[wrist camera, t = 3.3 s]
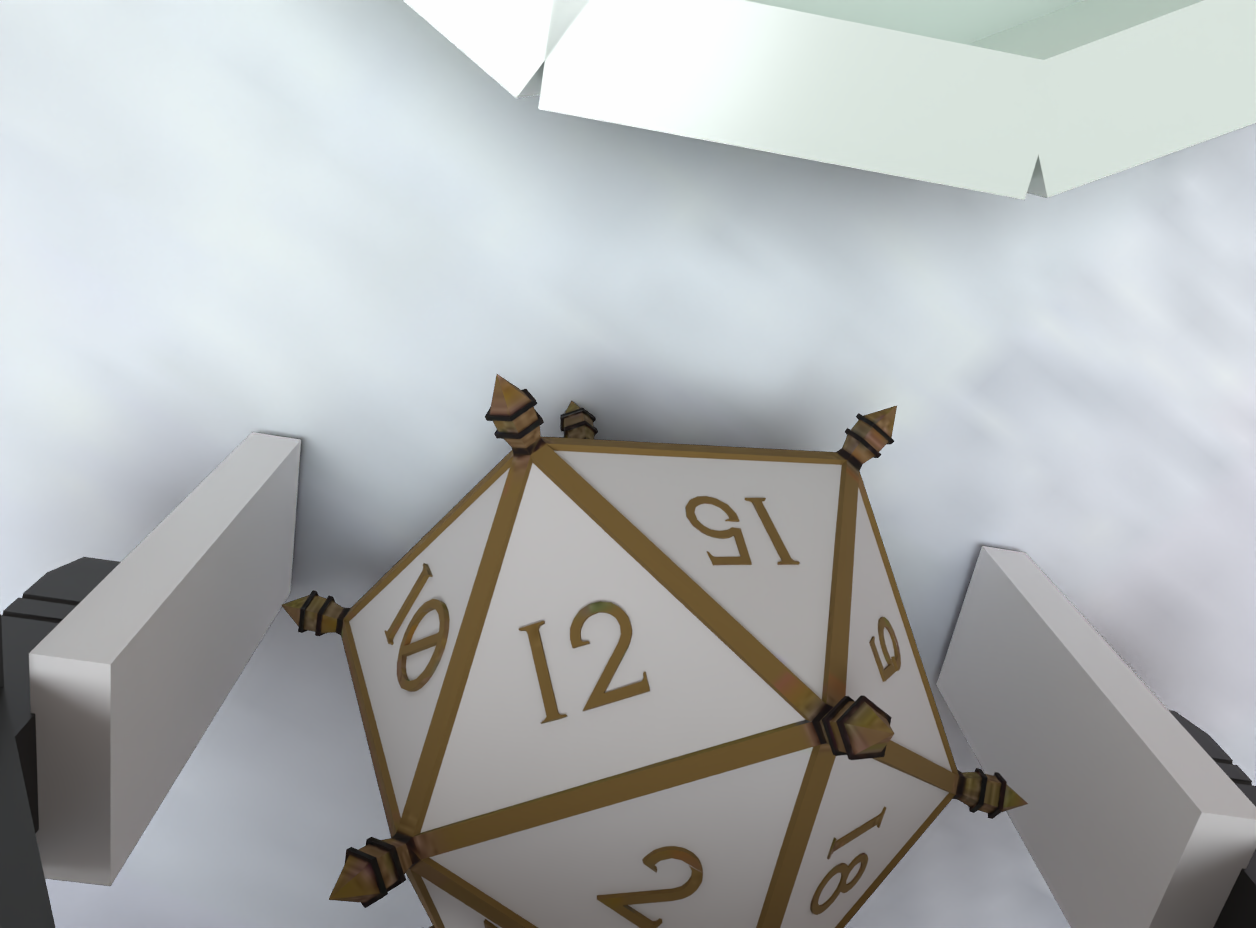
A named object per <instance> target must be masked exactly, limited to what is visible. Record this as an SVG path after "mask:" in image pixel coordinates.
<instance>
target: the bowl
mask: <svg viewBox="0 0 1256 928" xmlns="http://www.w3.org/2000/svg"><path fill="white" fill-rule="evenodd" d="M403 1H404V2H405V3H406V4H408V5H409V6H410V7H411V8H412V9H413V10H414V11H416V12H417V13H418V14H419V15H420V16H421V17H423V18H424V19H425V20H426V21H427V22H428V23H430V24H431V25H432V26H433V27H434V28H435V29H436V30H438V31H439V32H440V33H441V34H442V35H443V36H445V37H446V38H447V39H448V40H449V41H450V42H451V43H453V44H454V45H455V46H456V47H457V48H458V49H460V50H461V51H462V52H463V53H464V54H465V55H467V56H468V57H469V58H470V59H471V60H472V61H473V62H475V63H476V64H477V65H478V66H479V67H480V68H482V69H483V70H484V71H485V72H486V73H487V74H488V75H490V76H491V77H492V78H493V79H494V80H495V81H497V82H498V83H499V84H500V85H501V86H502V87H503V88H505V89H506V90H507V91H508V92H509V93H510V94H512V95H513V96H514V97H515V98H522V97H530V96H537V95H540V99H539V106H538V109H541V110H546V111H551V112H557V113H562V114H567V115H573V116H578V117H583V118H589V119H594V120H599V121H605V122H610V123H615V124H621V125H626V126H631V127H637V128H642V129H648V130H653V131H658V132H664V133H669V134H674V135H680V136H685V137H690V138H696V139H701V140H706V141H712V142H717V143H722V144H728V145H733V146H739V147H744V148H749V149H755V150H760V151H765V152H771V153H776V154H781V155H787V156H792V157H797V158H803V159H808V160H813V161H819V162H824V163H830V164H835V165H840V166H846V167H851V168H856V169H862V170H867V171H872V172H878V173H883V174H888V175H894V176H899V177H904V178H910V179H915V180H921V181H926V182H931V183H937V184H942V185H947V186H953V187H958V188H963V189H969V190H974V191H979V192H985V193H990V194H995V195H1001V196H1006V197H1012V198H1017V199H1022V200H1025V197H1026V194H1027V193H1030V194H1034V195H1038V196H1042V197H1046V198H1049V197H1051V196H1054V195H1057V194H1060V193H1063V192H1065V191H1068V190H1071V189H1074V188H1076V187H1079V186H1082V185H1085V184H1088V183H1090V182H1093V181H1096V180H1099V179H1102V178H1104V177H1107V176H1110V175H1113V174H1115V173H1118V172H1121V171H1124V170H1127V169H1129V168H1132V167H1135V166H1138V165H1140V164H1143V163H1146V162H1149V161H1152V160H1154V159H1157V158H1160V157H1163V156H1165V155H1168V154H1171V153H1174V152H1177V151H1179V150H1182V149H1185V148H1188V147H1190V146H1193V145H1196V144H1199V143H1202V142H1204V141H1207V140H1210V139H1213V138H1215V137H1218V136H1221V135H1224V134H1227V133H1229V132H1232V131H1235V130H1238V129H1240V128H1243V127H1246V126H1249V125H1252V124H1254V123H1256V0H403Z"/></svg>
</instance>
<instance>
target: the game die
mask: <svg viewBox="0 0 1256 928" xmlns="http://www.w3.org/2000/svg"><path fill="white" fill-rule="evenodd" d="M536 404H537V402H536V400H535V398H534V397H533V396H532V395H531V394H530V393H529V392H528V390H527V389H524V390H520V389H519V388H517V387H516V386H514V385H513V384H511V383H510V382H508V381H507V380H505V379H504V378H502V377H501V376H499V375H498V374H497V376H496V381H495V387H494V393H493V398H492V404H491V407H490V409H489V411H488V412H487V414H486V416H485V418H486V420H487V421H493V422H494V424H495V426H496V428H497V430H496V432H495V436H496V438H503V439H504V440H505V441H506V442H507V443H508V444H509V445H510V446H511V447H512V451H511V452H510V453H509V454H507V455H506V456H505V457H504V458H503V459H502V460H501V461H500V462H499V463H498V464H497V465H496V466H495V467H494V468H493V469H492V470H491V471H490V472H489V473H488V474H487V475H486V476H485V477H484V478H483V479H482V480H481V481H480V482H479V483H478V484H477V485H476V486H475V487H474V488H473V489H472V490H471V491H470V492H469V493H468V494H467V495H466V496H465V497H464V498H463V499H462V500H461V501H460V502H459V503H458V504H457V505H456V506H454V507H453V508H452V509H451V510H450V511H449V512H448V513H447V514H446V515H445V516H444V517H443V518H442V519H441V520H440V521H439V522H438V523H437V524H436V525H435V526H434V527H433V528H432V529H431V530H430V531H429V532H428V533H427V534H426V535H425V536H424V537H423V538H422V539H421V540H420V541H419V542H418V543H417V544H416V545H415V546H414V547H413V548H412V549H411V550H410V551H409V552H408V553H407V554H406V555H405V556H404V557H403V558H402V559H400V560H399V561H398V562H397V563H396V564H395V565H394V566H393V567H392V568H391V569H390V570H389V571H388V572H387V573H386V574H385V575H384V576H383V577H382V578H381V579H380V580H379V581H378V582H377V583H376V584H375V585H374V586H373V587H372V588H371V589H370V590H369V591H368V592H367V593H366V594H365V595H364V596H363V597H362V598H361V599H360V600H359V601H358V602H357V603H356V604H355V605H354V606H353V607H352V608H343V607H341V606H340V605H338V604H337V603H335V601H334V598H333V597H332V596H328V598H327V599H326V598H323V597H320V596H318V594H317V591H314V590H313V591H312V592H311V594H310V595H308V596H305V597H303V598H300V599H297V600H294V601H291V602H288V603H285V604H282V607H283V608H284V609H285V610H286V612H287V613H288V614H289V615H290V616H291V618H292V619H293V620H294V621H295V623H296V624H297V625H298V626H299V629H298V632H301V633H303V632H305V631H307V630H310V631H314V632H315V635H316V636H321V635H323V634H325V633H330V632H336V633H338V634H340V635H341V637H342V641H343V645H344V649H345V653H346V657H347V661H348V665H349V669H350V673H351V677H352V681H353V685H354V689H355V693H356V697H357V701H358V705H359V709H360V713H361V717H362V721H363V725H364V729H365V733H366V737H367V741H368V745H369V750H370V754H371V758H372V762H373V766H374V770H375V774H376V778H377V782H378V786H379V790H380V794H381V798H382V802H383V806H384V810H385V814H386V818H387V822H388V826H389V830H390V834H391V838H390V839H385V840H378V839H376V838H373V837H370V838H368V839H367V841H366V846H365V847H363V848H361V849H359V850H357V849H355V848H352V847H350V848H348V849H347V850H346V858H345V865H344V867H343V870H342V872H341V874H340V876H339V878H338V880H337V883H336V885H335V887H334V889H333V891H332V893H331V895H330V898H329V900H338V901H350V902H361V903H362V905H363V906H364V907H365V908H366V907H368V906H369V905H371V904H373V903H374V902H376V901H378V900H379V899H381V898H382V897H384V896H385V895H387V894H388V893H387V892H388V891H390V890H391V889H393V888H395V887H396V886H398V885H399V884H401V883H403V882H404V881H405V880H406V879H405V875H404V874H405V873H406V874H407V876H408V878H409V880H410V882H411V884H412V886H413V887H414V889H415V891H416V893H417V895H418V897H419V899H420V901H421V903H422V905H423V907H424V908H425V910H426V912H427V914H428V916H429V918H430V920H431V922H432V924H433V926H431V927H429V928H844V927H845V925H846V924H847V923H848V922H849V921H850V920H851V918H852V917H853V916H854V915H855V914H856V912H857V911H858V910H859V909H860V908H861V906H862V905H863V904H864V903H865V902H866V901H867V899H868V898H869V897H870V896H871V895H872V893H873V892H874V891H875V890H876V889H877V887H878V886H879V885H880V884H881V883H882V882H883V880H884V879H885V878H886V877H887V876H888V874H889V873H890V872H891V871H892V870H893V868H894V867H895V866H896V865H897V864H898V862H899V861H900V860H901V859H902V858H903V857H904V855H905V854H906V853H907V852H908V851H909V849H910V848H911V847H912V846H913V845H914V843H915V842H916V841H917V840H918V839H919V838H920V836H921V835H922V834H923V833H924V832H925V830H926V829H927V828H928V827H929V826H930V824H931V823H932V822H933V821H934V820H935V819H936V817H937V816H938V815H939V814H940V813H941V811H942V810H943V809H944V808H945V807H946V805H947V804H948V803H949V802H950V801H951V800H952V799H958V800H960V801H961V802H963V803H964V804H966V805H968V806H969V810H970V812H973V813H974V812H976V811H977V810H980V811H983V812H986V813H988V818H991V819H993V818H994V817H995V816H997V815H998V814H999V813H1001V812H1003V811H1007V810H1010V809H1013V808H1017V807H1020V806H1023V805H1026V804H1028V803H1027V802H1026V801H1025V800H1024V799H1023V798H1021V797H1020V796H1019V795H1018V794H1017V793H1016V792H1015V791H1014V790H1013V789H1012V788H1010V787H1009V786H1008V785H1007V781H1006V780H1005V779H1004V778H1003V777H1002V776H1001V774H1000V773H998V772H995V773H994V775H988V774H984V772H983V771H982V770H981V769H978V768H976V770H975V772H965V773H961V772H960V771H958V770H957V768H956V765H955V762H954V759H953V756H952V753H951V750H950V747H949V743H948V740H947V737H946V734H945V731H944V728H943V725H942V722H941V719H940V716H939V713H938V710H937V707H936V704H935V701H934V698H933V695H932V692H931V688H930V685H929V682H928V679H927V676H926V673H925V670H924V667H923V664H922V661H921V658H920V655H919V652H918V649H917V646H916V643H915V640H914V637H913V633H912V630H911V627H910V624H909V621H908V618H907V615H906V612H905V609H904V606H903V603H902V600H901V597H900V594H899V591H898V588H897V585H896V582H895V578H894V575H893V572H892V569H891V566H890V563H889V560H888V557H887V554H886V551H885V548H884V545H883V542H882V539H881V536H880V533H879V530H878V527H877V523H876V520H875V517H874V514H873V511H872V508H871V505H870V502H869V499H868V496H867V493H866V490H865V487H864V484H863V481H862V478H861V475H860V472H859V471H860V468H861V466H862V464H863V463H865V462H866V461H868V460H869V459H871V458H872V457H874V458H878V457H879V456H880V455H881V454H880V453H879V451H880V450H881V449H882V448H883V447H884V446H885V445H886V444H892V443H893V442H894V440H893V439H892V438H891V437H892V431H893V425H894V420H895V414H896V408H897V406H894V407H891V408H888V409H884V410H881V411H878V412H874V413H871V414H868V415H864V416H862V415H860V414H858V415H857V416H856V417H857V418H858V422H857V423H856V424H855V426H854V427H853V428H852V429H851V430H850V429H848V428H847V430H846V431H845V433H846V434H847V438H846V440H845V442H844V445H843V447H842V449H840V450H839V451H837V452H820V451H801V450H782V449H764V448H745V447H726V446H707V445H689V444H670V443H651V442H633V441H614V440H595V439H594V435H595V434H596V433H597V432H598V431H597V429H596V428H595V427H594V426H593V422H594V421H595V420H596V419H595V417H594V416H593V415H592V414H590V413H589V412H588V411H586V410H585V409H584V408H580V407H579V406H577V405H576V404H575V403H574V402H573V401H571V403H570V405H569V406H568V408H567V410H566V412H565V414H562V415H561V431H564V438H558V437H541V436H540V425H541V424H542V423H544V422H543V419H542V417H541V416H540V415H539V414H538V413H537V412H536V410H535V409H534V407H533V406H535V405H536Z"/></svg>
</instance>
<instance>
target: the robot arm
mask: <svg viewBox="0 0 1256 928" xmlns="http://www.w3.org/2000/svg"><path fill="white" fill-rule="evenodd" d="M300 449H301V440H300V439H294V438H287V437H281V436H274V435H268V434H262V433H255V432H252V433H251V434H250V435H249V436H248V437H247V438H246V439H245V440H244V441H243V442H242V443H241V444H240V445H239V446H238V447H237V448H235V449H234V450H233V451H232V452H231V453H230V454H229V455H228V456H227V457H226V458H225V459H224V460H223V461H222V462H221V463H220V464H219V465H218V466H217V467H216V468H215V469H214V470H213V471H212V472H211V473H210V474H209V475H208V476H207V477H206V478H205V479H204V480H203V481H202V482H201V483H200V484H199V485H198V486H197V487H196V488H195V489H194V490H193V491H192V492H191V493H190V494H189V495H188V496H187V497H186V498H185V499H184V500H183V501H182V502H181V503H180V504H179V505H178V506H177V507H176V508H175V509H174V510H173V511H172V512H171V513H170V514H169V515H168V516H167V517H166V518H165V519H164V520H163V521H162V522H161V523H160V524H159V525H158V526H157V527H156V528H155V529H154V530H153V531H152V532H151V533H150V534H149V535H148V536H147V537H146V538H145V539H144V540H143V541H142V542H141V543H140V544H139V545H138V546H137V547H136V548H135V549H134V550H133V551H132V552H131V553H130V554H129V555H128V556H127V557H126V558H125V559H124V560H123V561H122V562H116V561H109V560H102V559H95V558H88V557H83V558H80V559H78V560H76V561H73V562H71V563H69V564H66V565H64V566H61V567H59V568H57V569H54V570H52V571H50V572H47V573H46V574H45V575H44V576H43V577H41V578H40V579H39V580H38V581H37V582H36V583H35V584H33V585H32V586H31V587H30V588H29V589H28V590H27V591H25V592H24V593H23V597H22V598H18V599H16V600H15V601H14V602H13V603H12V604H11V605H10V606H8V607H7V608H6V609H5V610H4V611H3V615H2V616H1V615H0V928H55V924H54V919H53V915H52V910H51V905H50V901H49V896H48V891H47V886H46V882H45V879H53V880H61V881H70V882H78V883H87V884H95V885H104V886H111V885H112V883H113V882H114V880H115V878H116V877H117V875H118V873H119V872H120V870H121V868H122V867H123V865H124V864H125V862H126V860H127V859H128V857H129V855H130V854H131V852H132V851H133V849H134V847H135V846H136V844H137V842H138V841H139V839H140V837H141V836H142V834H143V833H144V831H145V829H146V828H147V826H148V824H149V823H150V821H151V820H152V818H153V816H154V815H155V813H156V811H157V810H158V808H159V806H160V805H161V803H162V802H163V800H164V798H165V797H166V795H167V793H168V792H169V790H170V789H171V787H172V785H173V784H174V782H175V780H176V779H177V777H178V775H179V774H180V772H181V771H182V769H183V767H184V766H185V764H186V762H187V761H188V759H189V758H190V756H191V754H192V753H193V751H194V749H195V748H196V746H197V744H198V743H199V741H200V740H201V738H202V736H203V735H204V733H205V731H206V730H207V728H208V727H209V725H210V723H211V722H212V720H213V718H214V717H215V715H216V714H217V712H218V710H219V709H220V707H221V705H222V704H223V702H224V700H225V699H226V697H227V696H228V694H229V692H230V691H231V689H232V687H233V686H234V684H235V683H236V681H237V679H238V678H239V676H240V674H241V673H242V671H243V669H244V668H245V666H246V665H247V663H248V661H249V660H250V658H251V656H252V655H253V653H254V652H255V650H256V648H257V647H258V645H259V643H260V642H261V640H262V638H263V637H264V635H265V634H266V632H267V630H268V629H269V627H270V625H271V624H272V622H273V621H274V619H275V617H276V616H277V614H278V612H279V611H280V609H281V607H282V604H284V603H285V601H286V599H287V598H288V596H289V594H290V593H291V580H292V565H293V551H294V536H295V522H296V507H297V493H298V478H299V464H300ZM936 686H937V687H938V689H939V691H940V693H941V695H942V696H943V698H944V700H945V702H946V704H947V705H948V707H949V709H950V711H951V713H952V714H953V716H954V718H955V720H956V722H957V723H958V725H959V727H960V729H961V731H962V732H963V734H964V736H965V738H966V740H967V741H968V743H969V745H970V747H971V749H972V750H973V752H974V754H975V756H976V758H977V759H978V761H979V763H980V765H981V767H982V768H983V770H984V772H985V774H988V775H994V773H995V772H998V773H1000V774H1001V776H1002V777H1003V778H1004V779H1005V780H1006V781H1007V785H1008V786H1009V787H1010V788H1012V789H1013V790H1014V791H1015V792H1016V793H1017V794H1018V795H1019V796H1020V797H1021V798H1023V799H1024V800H1025V801H1026V802H1027V803H1028V804H1026V805H1023V806H1020V807H1017V808H1013V809H1010V810H1007V811H1006V812H1007V813H1008V815H1009V817H1010V819H1011V820H1012V822H1013V824H1014V826H1015V828H1016V829H1017V831H1018V833H1019V835H1020V837H1021V838H1022V840H1023V842H1024V844H1025V846H1026V847H1027V849H1028V851H1029V853H1030V855H1031V856H1032V858H1033V860H1034V862H1035V864H1036V865H1037V867H1038V869H1039V871H1040V873H1041V874H1042V876H1043V878H1044V880H1045V882H1046V883H1047V885H1048V887H1049V889H1050V891H1051V892H1052V894H1053V896H1054V898H1055V900H1056V901H1057V903H1058V905H1059V907H1060V909H1061V910H1062V912H1063V914H1064V916H1065V918H1066V919H1067V921H1068V923H1069V925H1070V927H1071V928H1256V786H1252V784H1251V782H1252V781H1251V780H1250V779H1249V777H1248V776H1247V775H1246V774H1245V773H1244V772H1243V771H1242V770H1241V769H1240V768H1239V767H1238V766H1237V765H1232V761H1233V760H1232V759H1231V758H1230V757H1229V756H1228V755H1227V754H1226V753H1225V752H1224V751H1223V750H1222V749H1221V747H1220V746H1219V745H1218V744H1217V743H1216V742H1215V741H1214V740H1213V739H1212V738H1211V737H1210V736H1209V735H1208V734H1207V733H1205V732H1204V731H1202V730H1201V729H1199V728H1198V727H1197V726H1195V725H1194V724H1192V723H1191V722H1189V721H1188V720H1187V719H1185V718H1184V717H1182V716H1181V715H1179V714H1178V713H1177V712H1175V711H1170V710H1168V709H1167V708H1166V707H1165V706H1164V705H1163V704H1162V703H1161V702H1160V701H1159V699H1158V698H1157V697H1156V696H1155V695H1154V694H1153V693H1152V692H1151V691H1150V690H1149V688H1148V687H1147V686H1146V685H1145V684H1144V683H1143V682H1142V681H1141V680H1140V679H1139V677H1138V676H1137V675H1136V674H1135V673H1134V672H1133V671H1132V670H1131V669H1130V667H1129V666H1128V665H1127V664H1126V663H1125V662H1124V661H1123V660H1122V659H1121V658H1120V656H1119V655H1118V654H1117V653H1116V652H1115V651H1114V650H1113V649H1112V648H1111V646H1110V645H1109V644H1108V643H1107V642H1106V641H1105V640H1104V639H1103V638H1102V637H1101V635H1100V634H1099V633H1098V632H1097V631H1096V630H1095V629H1094V628H1093V627H1092V626H1091V624H1090V623H1089V622H1088V621H1087V620H1086V619H1085V618H1084V617H1083V616H1082V614H1081V613H1080V612H1079V611H1078V610H1077V609H1076V608H1075V607H1074V606H1073V605H1072V603H1071V602H1070V601H1069V600H1068V599H1067V598H1066V597H1065V596H1064V595H1063V593H1062V592H1061V591H1060V590H1059V589H1058V588H1057V587H1056V586H1055V585H1054V584H1053V582H1052V581H1051V580H1050V579H1049V578H1048V577H1047V576H1046V575H1045V574H1044V573H1043V571H1042V570H1041V569H1040V568H1039V567H1038V566H1037V565H1036V564H1035V563H1034V561H1033V560H1032V559H1031V558H1030V557H1029V556H1028V555H1027V554H1026V553H1024V552H1018V551H1012V550H1005V549H999V548H992V547H986V546H982V548H981V551H980V554H979V557H978V560H977V563H976V566H975V569H974V572H973V575H972V578H971V581H970V584H969V587H968V590H967V593H966V596H965V599H964V602H963V605H962V609H961V612H960V615H959V618H958V621H957V624H956V627H955V630H954V633H953V636H952V639H951V642H950V645H949V648H948V651H947V654H946V657H945V660H944V663H943V666H942V669H941V672H940V675H939V678H938V681H937V684H936Z"/></svg>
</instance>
